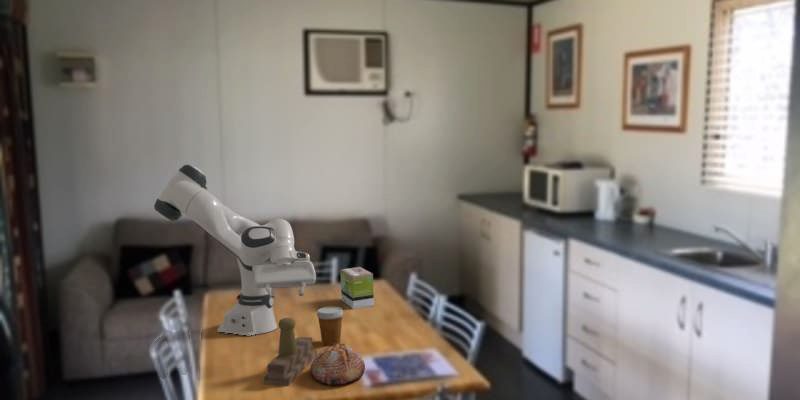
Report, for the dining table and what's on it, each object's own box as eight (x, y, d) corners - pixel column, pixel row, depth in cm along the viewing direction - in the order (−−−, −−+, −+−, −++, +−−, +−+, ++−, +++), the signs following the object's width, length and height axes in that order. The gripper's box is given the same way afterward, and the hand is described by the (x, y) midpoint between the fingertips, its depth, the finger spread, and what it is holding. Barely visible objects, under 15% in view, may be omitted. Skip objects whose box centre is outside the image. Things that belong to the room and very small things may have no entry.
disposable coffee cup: (348, 339, 233) (347, 307, 232) (338, 348, 224) (337, 314, 223) (324, 337, 236) (323, 305, 235) (313, 345, 227) (312, 312, 226)
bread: (354, 364, 212) (355, 334, 211) (371, 385, 193) (372, 353, 192) (305, 368, 206) (306, 337, 206) (317, 390, 188) (318, 357, 187)
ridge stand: (288, 385, 192) (288, 366, 191) (263, 383, 194) (262, 364, 193) (316, 355, 217) (316, 337, 217) (294, 354, 219) (293, 336, 218)
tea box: (340, 301, 285) (339, 268, 283) (361, 298, 289) (360, 266, 288) (352, 309, 271) (351, 275, 270) (374, 306, 276) (373, 272, 274)
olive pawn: (293, 356, 199) (292, 322, 198) (275, 355, 201) (273, 321, 200) (300, 349, 205) (299, 316, 204) (283, 348, 207) (281, 315, 205)
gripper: (251, 257, 213) (254, 293, 205) (313, 253, 218) (318, 288, 210) (252, 268, 218) (254, 303, 210) (312, 263, 223) (316, 298, 215)
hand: (286, 296), depth 210 cm, fingers open, 8 cm apart
